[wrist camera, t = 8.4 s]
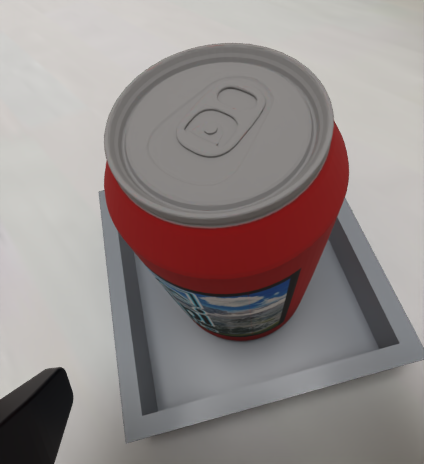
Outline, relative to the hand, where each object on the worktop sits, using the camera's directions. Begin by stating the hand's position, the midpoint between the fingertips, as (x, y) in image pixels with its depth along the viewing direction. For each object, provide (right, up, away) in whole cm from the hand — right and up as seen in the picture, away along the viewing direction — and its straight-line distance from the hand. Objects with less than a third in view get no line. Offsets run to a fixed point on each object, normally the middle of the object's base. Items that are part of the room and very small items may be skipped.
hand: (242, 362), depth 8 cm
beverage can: (+1, 0, +10) cm, 10 cm away
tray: (+1, 0, +11) cm, 11 cm away
